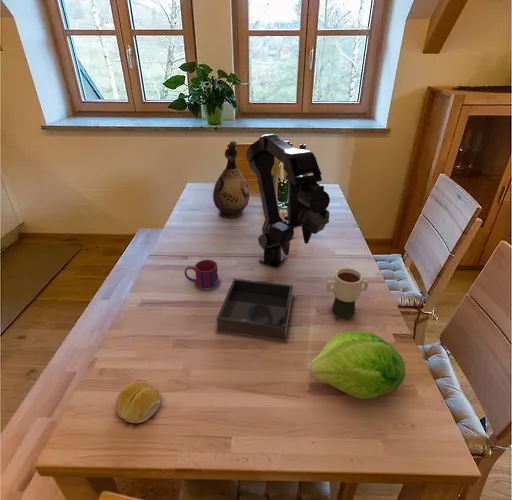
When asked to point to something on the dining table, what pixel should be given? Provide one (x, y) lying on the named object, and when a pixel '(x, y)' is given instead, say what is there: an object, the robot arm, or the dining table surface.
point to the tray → (256, 309)
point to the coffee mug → (346, 291)
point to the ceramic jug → (231, 187)
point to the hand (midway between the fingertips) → (296, 248)
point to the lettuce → (359, 365)
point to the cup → (205, 273)
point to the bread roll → (137, 402)
